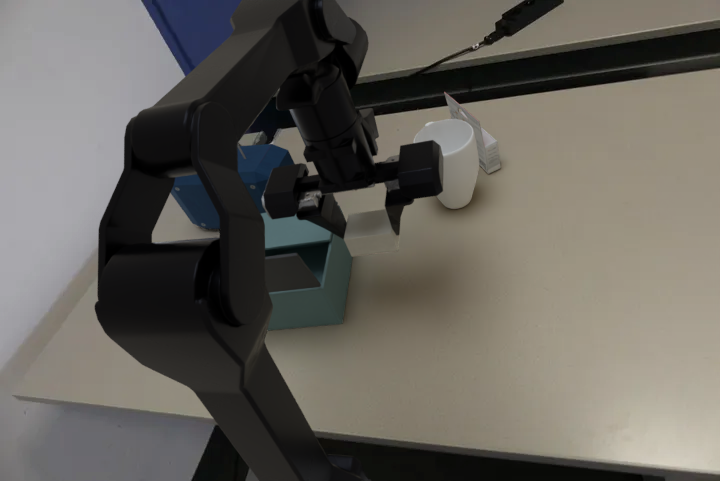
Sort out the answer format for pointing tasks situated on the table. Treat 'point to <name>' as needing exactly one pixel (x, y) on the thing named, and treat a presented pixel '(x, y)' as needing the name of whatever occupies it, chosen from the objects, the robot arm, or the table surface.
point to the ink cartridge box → (477, 137)
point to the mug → (454, 159)
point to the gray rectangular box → (370, 233)
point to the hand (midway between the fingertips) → (373, 235)
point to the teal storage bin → (323, 260)
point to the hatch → (288, 273)
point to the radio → (253, 172)
